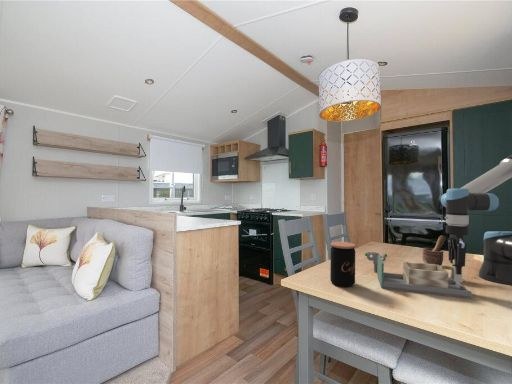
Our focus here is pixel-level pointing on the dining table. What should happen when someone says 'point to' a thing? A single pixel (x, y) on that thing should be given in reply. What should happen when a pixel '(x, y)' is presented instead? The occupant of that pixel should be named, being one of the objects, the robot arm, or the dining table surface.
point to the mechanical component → (375, 258)
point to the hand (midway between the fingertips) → (456, 280)
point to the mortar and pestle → (434, 253)
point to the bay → (398, 283)
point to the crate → (426, 274)
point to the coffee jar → (342, 264)
